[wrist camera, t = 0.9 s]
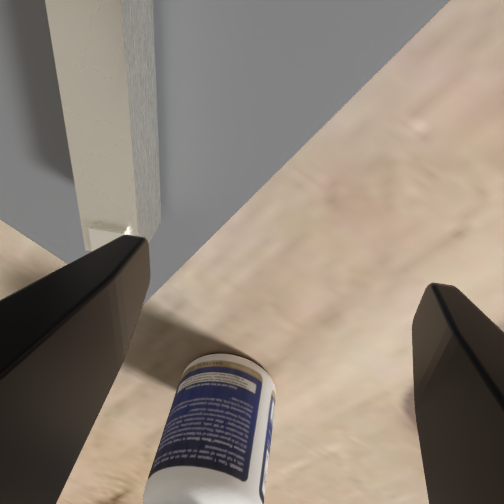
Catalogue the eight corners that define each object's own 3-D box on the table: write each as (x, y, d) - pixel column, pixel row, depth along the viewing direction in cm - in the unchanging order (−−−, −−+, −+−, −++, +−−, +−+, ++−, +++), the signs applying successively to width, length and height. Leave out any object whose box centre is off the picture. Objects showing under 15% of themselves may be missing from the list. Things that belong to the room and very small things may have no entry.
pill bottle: (163, 366, 26) (90, 560, 18) (241, 338, 24) (195, 545, 16) (219, 420, 28) (175, 613, 20) (294, 399, 26) (278, 606, 18)
